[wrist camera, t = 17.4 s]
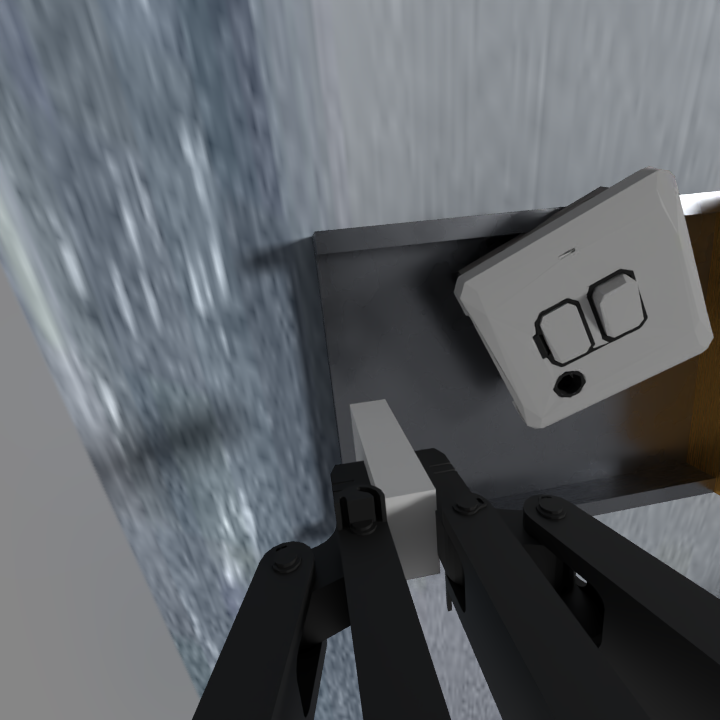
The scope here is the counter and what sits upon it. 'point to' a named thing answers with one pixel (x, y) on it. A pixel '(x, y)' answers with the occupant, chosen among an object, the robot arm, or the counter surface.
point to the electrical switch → (590, 298)
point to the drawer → (484, 383)
